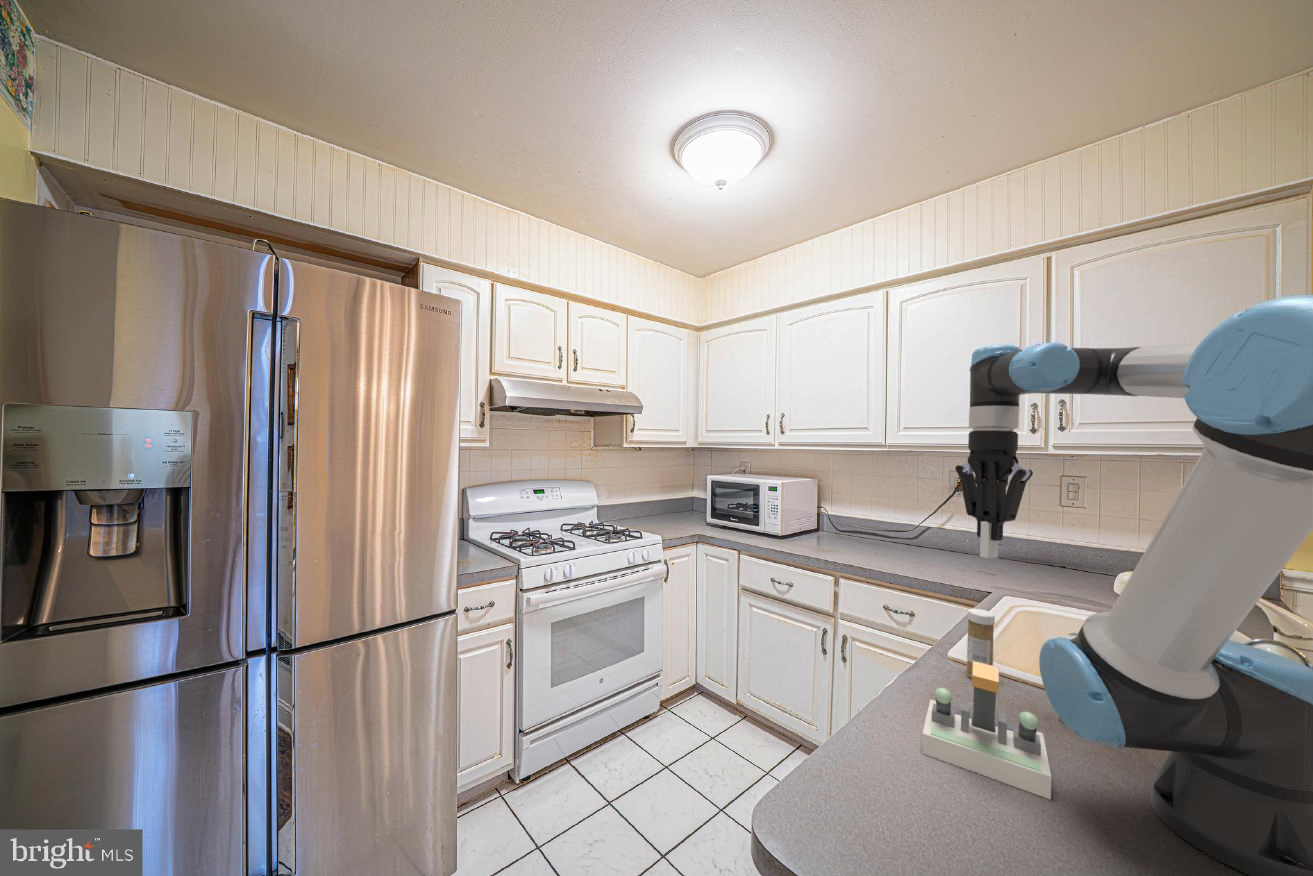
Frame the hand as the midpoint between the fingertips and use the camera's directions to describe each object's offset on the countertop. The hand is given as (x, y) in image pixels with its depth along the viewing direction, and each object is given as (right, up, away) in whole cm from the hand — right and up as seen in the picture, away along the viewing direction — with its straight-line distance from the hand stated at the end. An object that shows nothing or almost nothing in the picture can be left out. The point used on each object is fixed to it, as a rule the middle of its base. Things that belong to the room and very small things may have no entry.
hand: (988, 556), depth 88 cm
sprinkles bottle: (+4, -27, +8) cm, 28 cm away
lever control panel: (-12, -26, -16) cm, 33 cm away
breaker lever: (-12, -21, -16) cm, 29 cm away
